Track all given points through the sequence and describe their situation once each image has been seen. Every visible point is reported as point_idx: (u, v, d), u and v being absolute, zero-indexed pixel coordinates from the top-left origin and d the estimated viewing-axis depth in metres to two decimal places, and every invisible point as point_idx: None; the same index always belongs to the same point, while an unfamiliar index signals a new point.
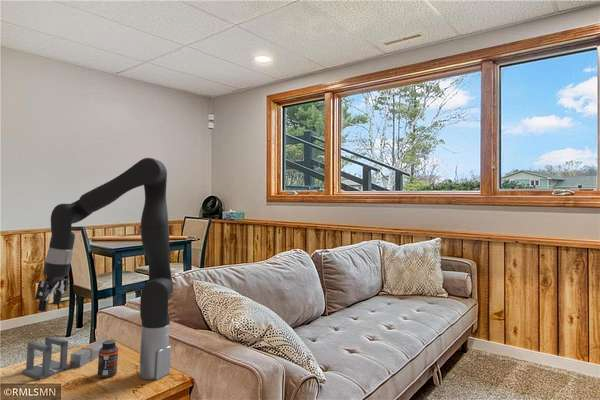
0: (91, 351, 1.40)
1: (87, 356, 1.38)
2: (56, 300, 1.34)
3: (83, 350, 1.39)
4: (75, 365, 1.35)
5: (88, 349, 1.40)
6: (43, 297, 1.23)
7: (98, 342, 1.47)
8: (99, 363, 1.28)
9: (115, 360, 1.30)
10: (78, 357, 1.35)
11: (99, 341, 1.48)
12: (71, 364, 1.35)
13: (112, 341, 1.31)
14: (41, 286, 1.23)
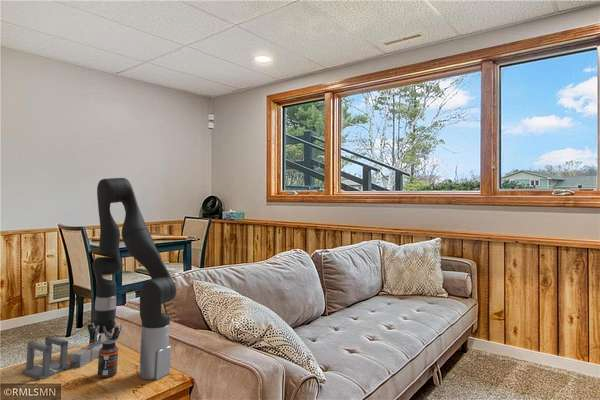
0: (91, 351, 1.40)
1: (87, 356, 1.38)
2: None
3: (83, 350, 1.39)
4: (75, 365, 1.35)
5: (88, 349, 1.40)
6: (91, 336, 1.50)
7: (98, 342, 1.47)
8: (99, 363, 1.28)
9: (115, 360, 1.30)
10: (78, 357, 1.35)
11: (99, 341, 1.48)
12: (71, 364, 1.35)
13: (112, 341, 1.31)
14: None
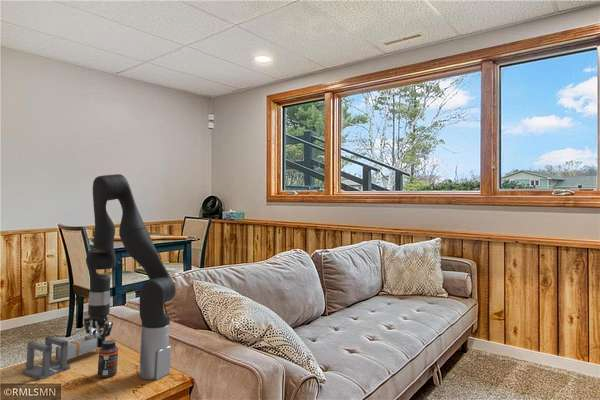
0: (77, 346, 1.39)
1: (72, 350, 1.37)
2: None
3: (70, 344, 1.39)
4: (59, 358, 1.35)
5: (75, 343, 1.39)
6: (86, 331, 1.50)
7: (90, 337, 1.46)
8: (99, 363, 1.28)
9: (115, 360, 1.30)
10: None
11: (92, 336, 1.47)
12: (56, 357, 1.36)
13: (112, 341, 1.31)
14: None
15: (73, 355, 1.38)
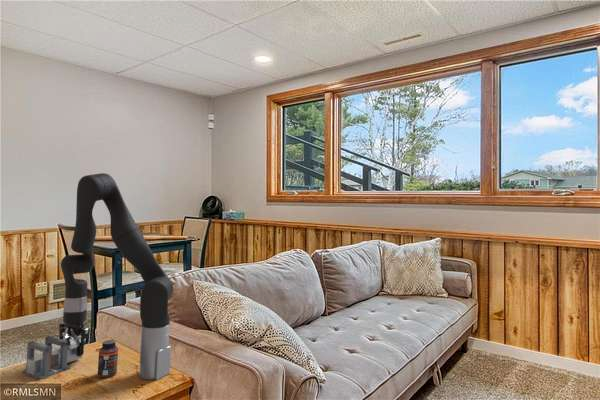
0: (51, 358, 1.30)
1: None
2: None
3: (42, 356, 1.30)
4: (30, 372, 1.26)
5: None
6: (59, 337, 1.41)
7: None
8: (99, 363, 1.28)
9: (115, 360, 1.30)
10: (33, 364, 1.26)
11: (68, 347, 1.39)
12: (27, 370, 1.27)
13: (112, 341, 1.31)
14: None
15: None
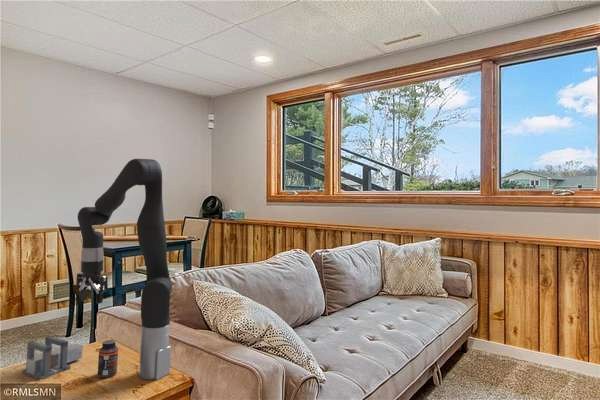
0: (51, 358, 1.30)
1: None
2: None
3: (42, 356, 1.30)
4: (30, 372, 1.26)
5: None
6: (76, 286, 1.46)
7: None
8: (99, 363, 1.28)
9: (115, 360, 1.30)
10: (33, 364, 1.26)
11: (68, 347, 1.39)
12: (27, 370, 1.27)
13: (112, 341, 1.31)
14: None
15: None
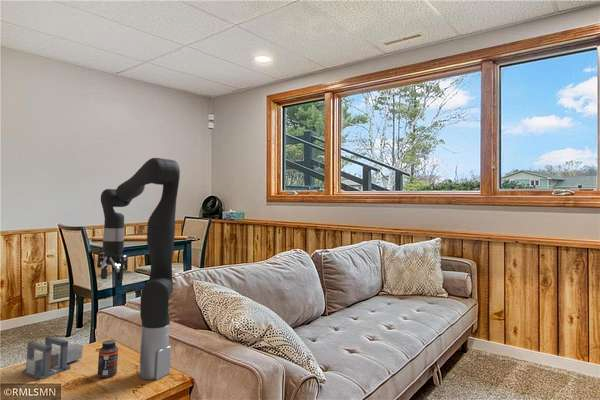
0: (51, 358, 1.30)
1: None
2: None
3: (42, 356, 1.30)
4: (30, 372, 1.26)
5: None
6: (97, 265, 1.52)
7: None
8: (99, 363, 1.28)
9: (115, 360, 1.30)
10: (33, 364, 1.26)
11: (68, 347, 1.39)
12: (27, 370, 1.27)
13: (112, 341, 1.31)
14: None
15: None
